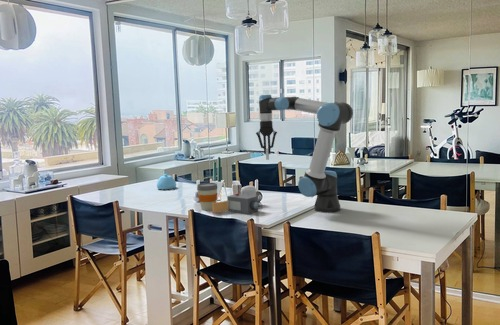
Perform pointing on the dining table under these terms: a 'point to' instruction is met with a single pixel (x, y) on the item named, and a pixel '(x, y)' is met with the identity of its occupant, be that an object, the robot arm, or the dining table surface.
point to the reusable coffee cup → (207, 195)
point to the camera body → (243, 203)
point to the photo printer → (248, 190)
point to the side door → (220, 206)
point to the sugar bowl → (166, 182)
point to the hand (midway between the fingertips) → (267, 159)
